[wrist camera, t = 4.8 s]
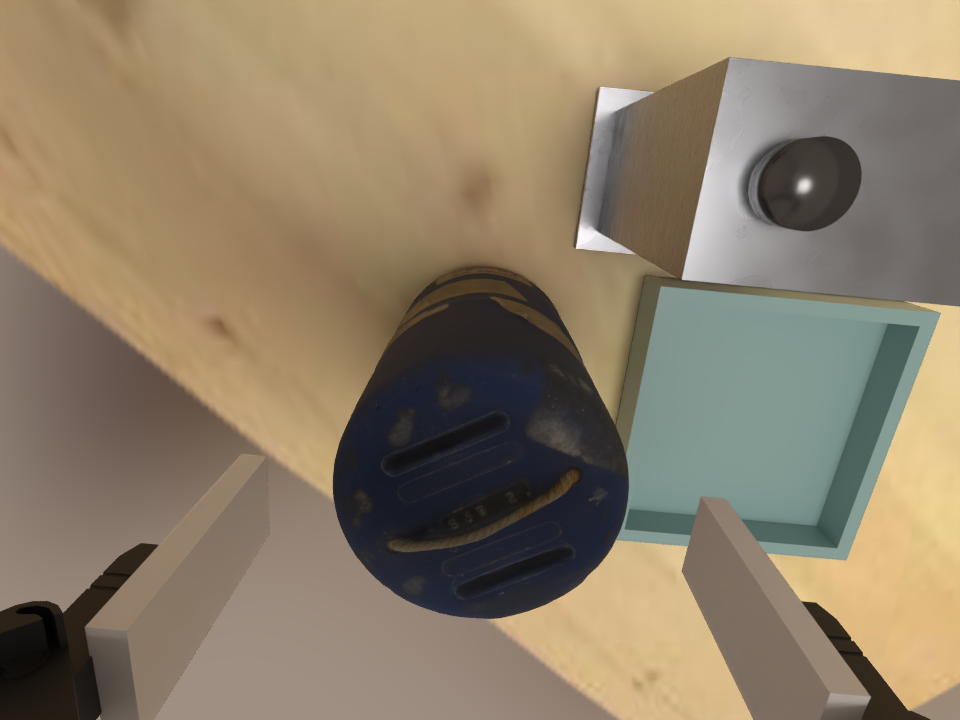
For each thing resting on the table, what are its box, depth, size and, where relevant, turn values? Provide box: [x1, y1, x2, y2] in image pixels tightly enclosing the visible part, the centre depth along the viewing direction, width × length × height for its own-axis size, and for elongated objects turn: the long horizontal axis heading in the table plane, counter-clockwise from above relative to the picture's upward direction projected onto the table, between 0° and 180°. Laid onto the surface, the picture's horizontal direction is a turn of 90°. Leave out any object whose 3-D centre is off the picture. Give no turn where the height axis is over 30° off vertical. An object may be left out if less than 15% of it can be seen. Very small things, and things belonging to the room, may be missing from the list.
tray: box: [616, 276, 941, 560], centre depth 32 cm, size 15×16×3 cm
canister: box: [333, 267, 629, 619], centre depth 24 cm, size 10×10×18 cm
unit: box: [574, 57, 960, 306], centre depth 22 cm, size 11×8×16 cm
